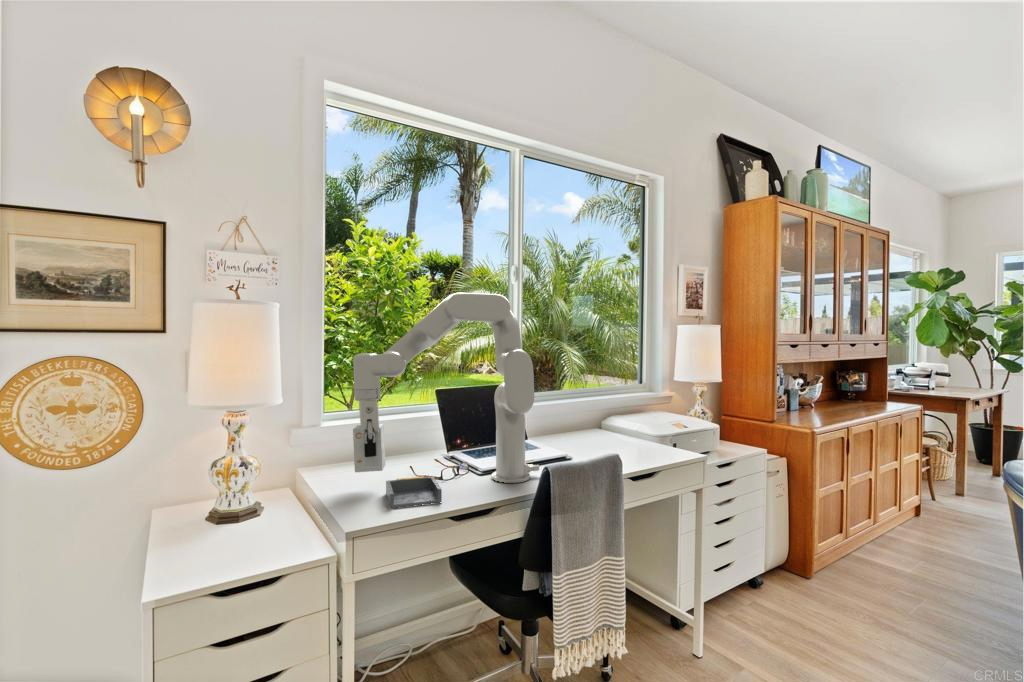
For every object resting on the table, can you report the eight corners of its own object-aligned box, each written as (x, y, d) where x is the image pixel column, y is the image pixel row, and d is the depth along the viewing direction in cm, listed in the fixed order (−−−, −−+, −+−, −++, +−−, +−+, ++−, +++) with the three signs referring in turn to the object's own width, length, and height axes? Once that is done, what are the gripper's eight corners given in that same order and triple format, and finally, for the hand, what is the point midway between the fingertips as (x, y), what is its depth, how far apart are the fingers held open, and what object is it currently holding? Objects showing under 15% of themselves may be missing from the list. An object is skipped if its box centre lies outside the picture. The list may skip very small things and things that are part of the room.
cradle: (433, 489, 154) (433, 475, 154) (441, 503, 141) (441, 487, 141) (386, 494, 149) (385, 479, 149) (390, 508, 137) (390, 493, 137)
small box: (385, 465, 156) (384, 423, 156) (382, 471, 150) (380, 427, 149) (358, 467, 155) (357, 424, 155) (354, 472, 149) (352, 428, 149)
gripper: (382, 397, 145) (385, 458, 145) (378, 390, 161) (380, 446, 162) (355, 399, 142) (357, 461, 143) (353, 392, 159) (355, 448, 159)
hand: (369, 453), depth 152 cm, fingers closed on small box, 7 cm apart
